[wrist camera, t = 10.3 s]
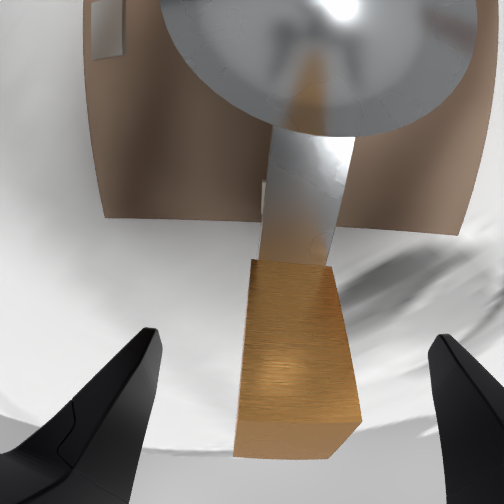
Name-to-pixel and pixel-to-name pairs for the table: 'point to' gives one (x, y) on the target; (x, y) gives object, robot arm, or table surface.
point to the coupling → (313, 177)
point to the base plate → (261, 135)
